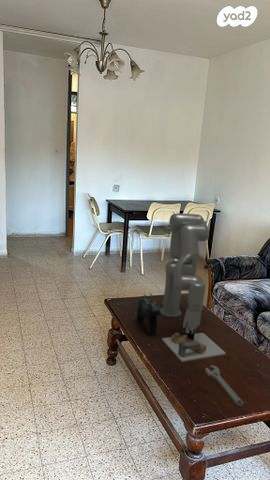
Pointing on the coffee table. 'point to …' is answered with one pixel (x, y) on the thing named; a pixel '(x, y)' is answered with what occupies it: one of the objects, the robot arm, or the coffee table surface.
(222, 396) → the coffee table surface
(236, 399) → the adjustable wrench
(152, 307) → the ceramic cat
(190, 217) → the robot arm
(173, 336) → the tan bar
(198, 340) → the mounting board
